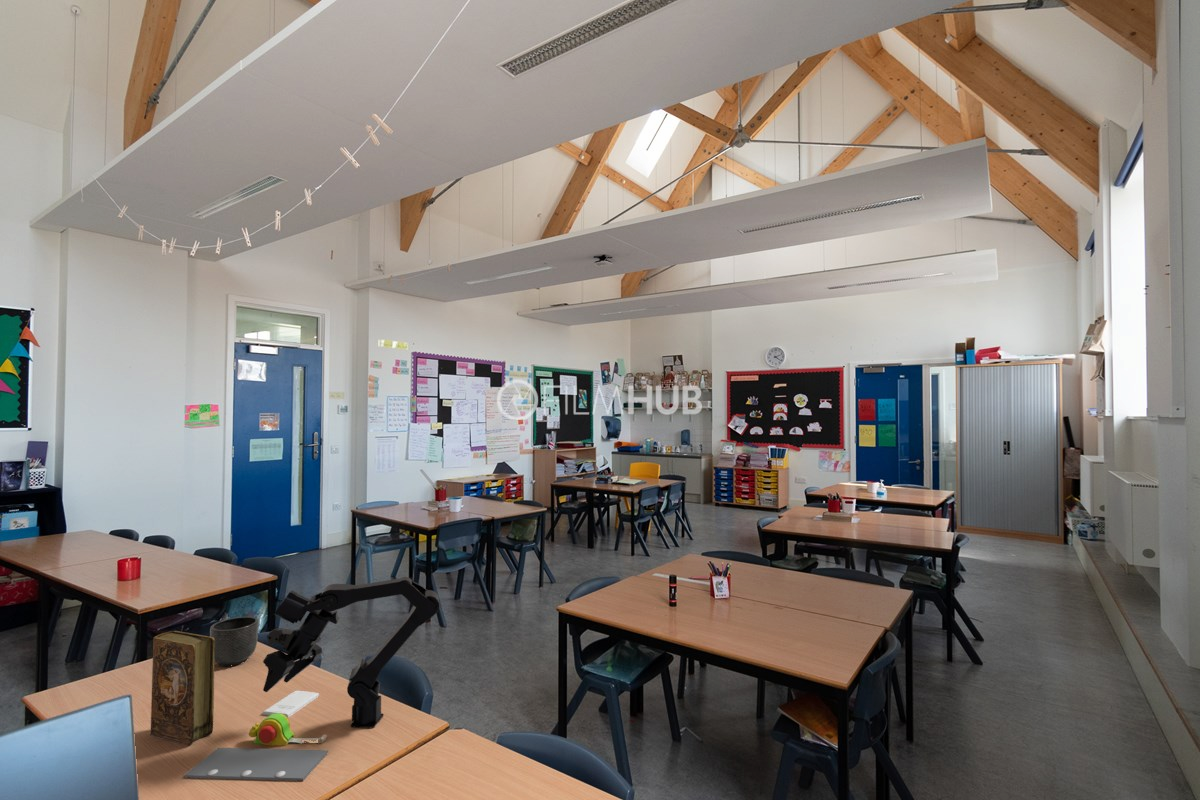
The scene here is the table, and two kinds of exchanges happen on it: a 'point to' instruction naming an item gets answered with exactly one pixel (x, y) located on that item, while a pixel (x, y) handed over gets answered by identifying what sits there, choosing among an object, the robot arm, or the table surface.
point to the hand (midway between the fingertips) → (275, 686)
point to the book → (182, 686)
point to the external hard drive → (291, 703)
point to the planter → (234, 639)
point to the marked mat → (258, 764)
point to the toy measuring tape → (277, 732)
